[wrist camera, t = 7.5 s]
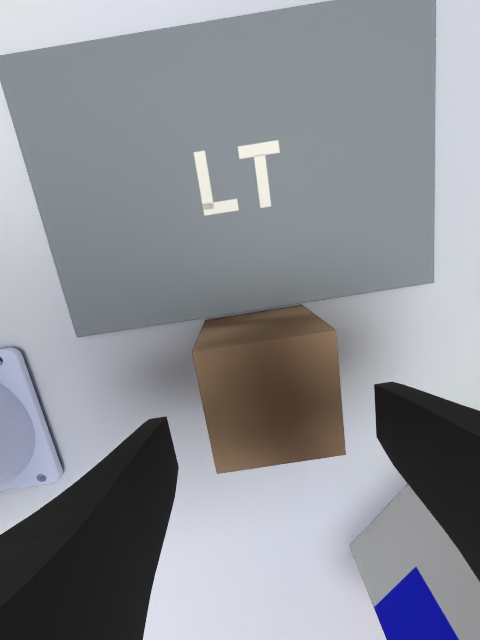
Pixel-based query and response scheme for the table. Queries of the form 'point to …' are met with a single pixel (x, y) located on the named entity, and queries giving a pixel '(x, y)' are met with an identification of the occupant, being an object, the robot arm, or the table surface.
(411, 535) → the puzzle toy
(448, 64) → the table surface
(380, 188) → the gray tile
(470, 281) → the table surface
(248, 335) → the walnut block
